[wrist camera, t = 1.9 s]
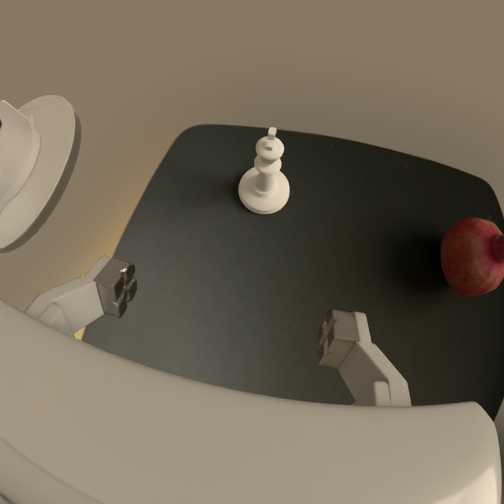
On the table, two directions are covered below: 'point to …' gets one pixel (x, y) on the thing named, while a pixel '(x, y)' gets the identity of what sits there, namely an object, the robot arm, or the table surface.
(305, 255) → the table surface
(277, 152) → the chess piece
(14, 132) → the robot arm
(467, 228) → the fruit
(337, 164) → the table surface
